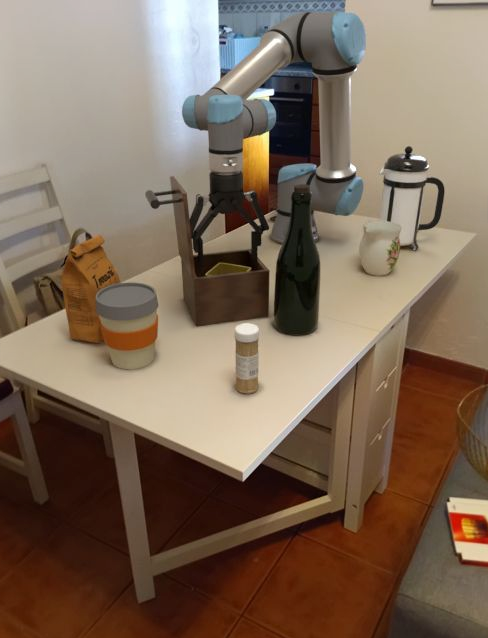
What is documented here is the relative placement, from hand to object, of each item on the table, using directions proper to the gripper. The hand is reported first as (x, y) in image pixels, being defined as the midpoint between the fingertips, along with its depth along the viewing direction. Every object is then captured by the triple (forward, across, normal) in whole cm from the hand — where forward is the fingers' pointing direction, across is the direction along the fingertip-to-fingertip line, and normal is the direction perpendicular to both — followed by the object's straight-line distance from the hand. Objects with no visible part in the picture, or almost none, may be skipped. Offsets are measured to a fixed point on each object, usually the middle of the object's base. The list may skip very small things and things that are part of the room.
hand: (227, 262), depth 142 cm
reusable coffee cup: (+12, -26, -18) cm, 34 cm away
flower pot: (+11, 0, 0) cm, 11 cm away
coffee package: (+12, -32, -4) cm, 35 cm away
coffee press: (+13, +64, +29) cm, 71 cm away
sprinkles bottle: (+12, -6, -36) cm, 39 cm away
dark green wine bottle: (+12, +12, -14) cm, 22 cm away
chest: (+12, -1, 0) cm, 12 cm away
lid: (-10, -10, 0) cm, 14 cm away
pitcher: (+13, +47, +11) cm, 50 cm away
